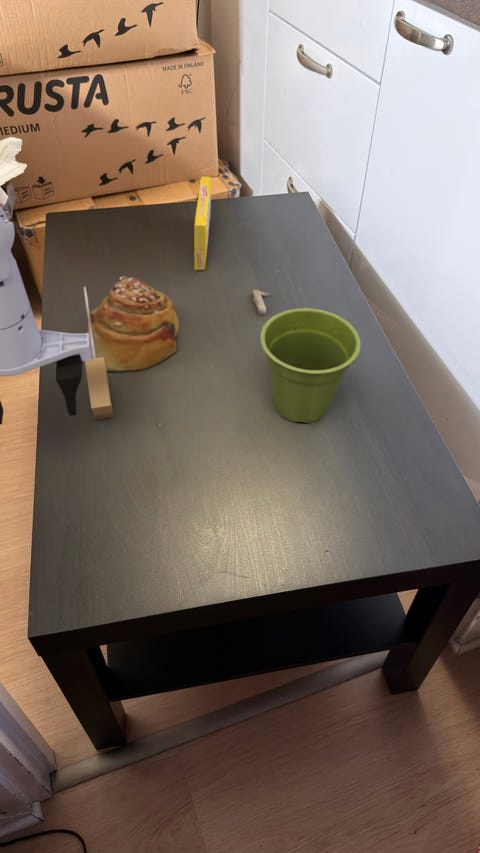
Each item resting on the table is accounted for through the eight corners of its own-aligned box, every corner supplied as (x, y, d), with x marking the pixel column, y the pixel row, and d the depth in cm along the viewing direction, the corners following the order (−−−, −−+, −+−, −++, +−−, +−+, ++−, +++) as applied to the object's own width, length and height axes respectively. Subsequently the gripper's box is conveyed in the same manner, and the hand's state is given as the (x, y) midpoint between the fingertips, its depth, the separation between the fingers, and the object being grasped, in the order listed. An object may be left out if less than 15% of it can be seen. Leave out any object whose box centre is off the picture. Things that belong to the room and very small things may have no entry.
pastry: (177, 302, 96) (174, 257, 90) (183, 368, 86) (179, 322, 80) (90, 308, 95) (81, 262, 89) (86, 375, 85) (75, 329, 79)
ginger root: (277, 311, 94) (258, 311, 93) (276, 315, 95) (257, 315, 94) (268, 288, 98) (250, 288, 97) (267, 293, 99) (249, 293, 98)
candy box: (207, 271, 102) (205, 225, 96) (194, 271, 102) (191, 225, 96) (212, 219, 113) (211, 175, 107) (200, 219, 113) (198, 175, 107)
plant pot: (327, 451, 77) (340, 385, 68) (241, 418, 80) (243, 352, 72) (359, 390, 84) (374, 324, 75) (279, 363, 87) (285, 297, 79)
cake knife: (113, 417, 80) (110, 405, 77) (94, 420, 80) (91, 408, 76) (95, 295, 87) (92, 280, 84) (78, 297, 87) (74, 282, 84)
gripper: (79, 276, 59) (104, 378, 69) (-79, 292, 58) (-30, 394, 68) (79, 323, 54) (106, 425, 65) (-93, 343, 53) (-38, 444, 63)
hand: (36, 413), depth 66 cm, fingers open, 7 cm apart
